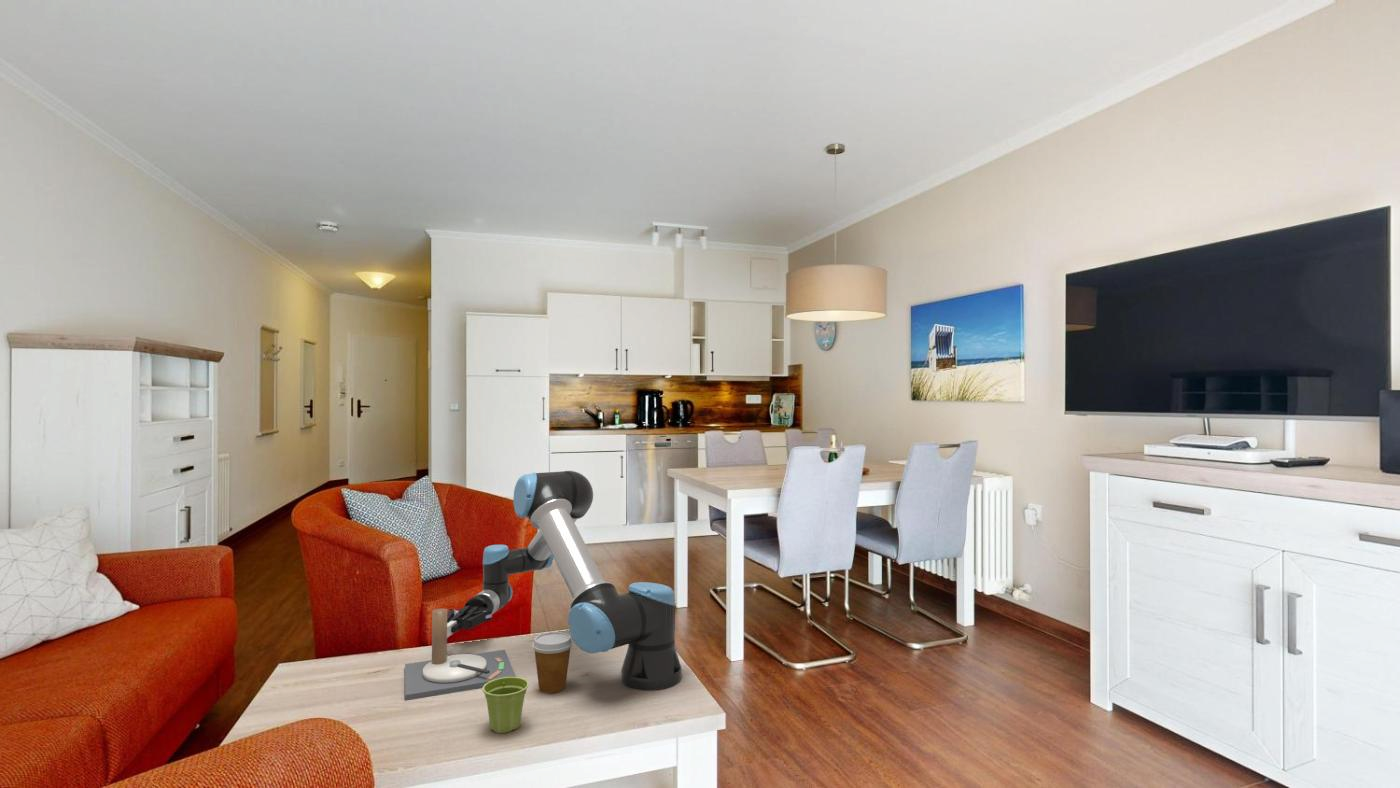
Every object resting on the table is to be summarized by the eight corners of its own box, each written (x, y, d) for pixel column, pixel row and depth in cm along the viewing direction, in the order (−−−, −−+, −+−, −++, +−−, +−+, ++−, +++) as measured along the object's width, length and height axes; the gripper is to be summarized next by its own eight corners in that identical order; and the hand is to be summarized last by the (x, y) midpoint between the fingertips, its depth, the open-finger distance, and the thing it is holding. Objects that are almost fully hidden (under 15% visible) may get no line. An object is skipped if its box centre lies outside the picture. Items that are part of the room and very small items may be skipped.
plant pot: (488, 716, 143) (488, 676, 143) (531, 715, 144) (532, 675, 144) (477, 738, 134) (477, 695, 134) (523, 736, 135) (524, 694, 135)
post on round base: (490, 678, 160) (490, 620, 160) (423, 689, 154) (424, 628, 154) (482, 655, 175) (483, 601, 175) (422, 664, 169) (422, 608, 169)
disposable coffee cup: (577, 680, 162) (577, 632, 163) (565, 697, 153) (565, 646, 153) (539, 678, 163) (540, 630, 163) (526, 695, 154) (526, 644, 154)
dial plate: (516, 682, 161) (516, 675, 161) (405, 700, 151) (405, 693, 151) (504, 653, 180) (504, 648, 180) (405, 668, 169) (405, 662, 169)
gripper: (502, 620, 192) (465, 649, 169) (460, 618, 194) (418, 647, 170) (503, 594, 192) (466, 620, 169) (460, 593, 194) (418, 618, 170)
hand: (442, 634), depth 170 cm, fingers closed
